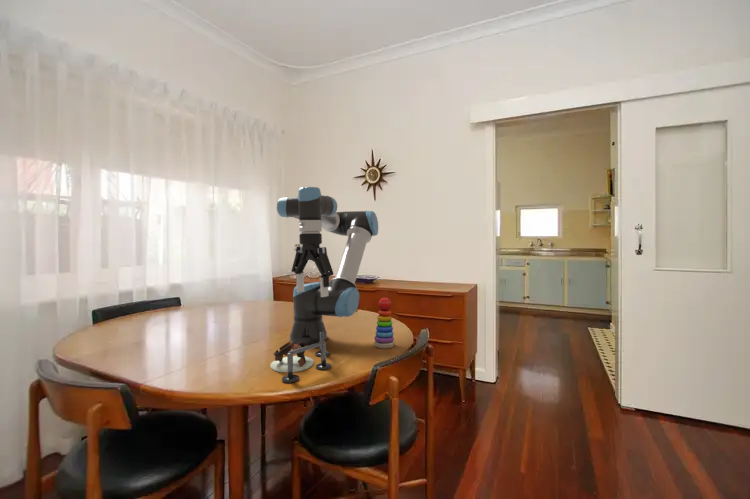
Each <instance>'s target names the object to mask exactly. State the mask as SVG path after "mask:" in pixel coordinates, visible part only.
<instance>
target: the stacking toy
mask: <svg viewBox="0 0 750 499" xmlns="http://www.w3.org/2000/svg"><path fill="white" fill-rule="evenodd" d="M377 305H378V307H379V310H378V312H377V313H378V315H377V321H376V327H375V328H376V331H375V336H374V338H373V339H374V343H373V345H374V347H376V348H379V349H391V348H393V347H394V346H395V345H396V344H395V343H396V342H395V341H394V339H395V337H394V334H395V333H394V327H393V321H392V316H391V315H392V311H391V308H392V301H391V300H390V298H388V297H382V298H380V299H379V300H378V304H377Z"/></svg>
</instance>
